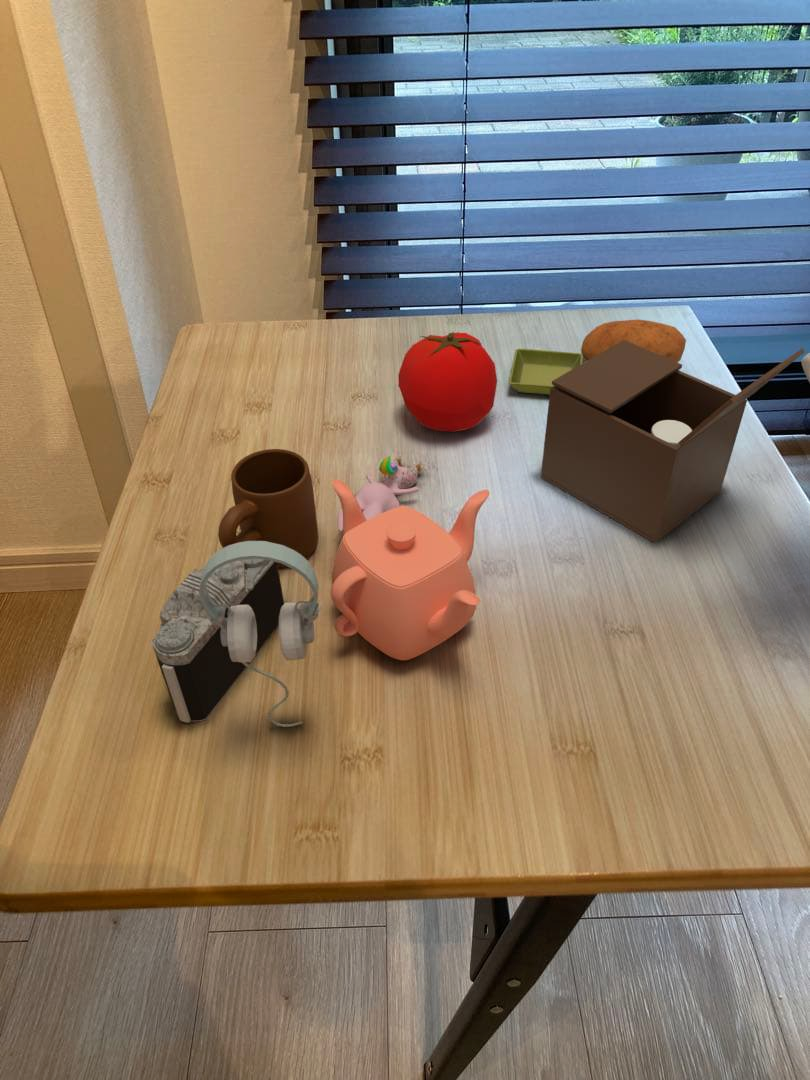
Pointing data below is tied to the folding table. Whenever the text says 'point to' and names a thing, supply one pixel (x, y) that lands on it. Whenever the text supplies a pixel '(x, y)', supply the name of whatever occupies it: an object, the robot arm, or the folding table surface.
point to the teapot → (403, 576)
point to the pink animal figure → (384, 489)
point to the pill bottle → (670, 431)
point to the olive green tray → (540, 369)
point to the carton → (637, 438)
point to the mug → (272, 502)
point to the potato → (635, 338)
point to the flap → (741, 396)
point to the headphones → (241, 618)
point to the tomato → (448, 381)
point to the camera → (212, 633)
